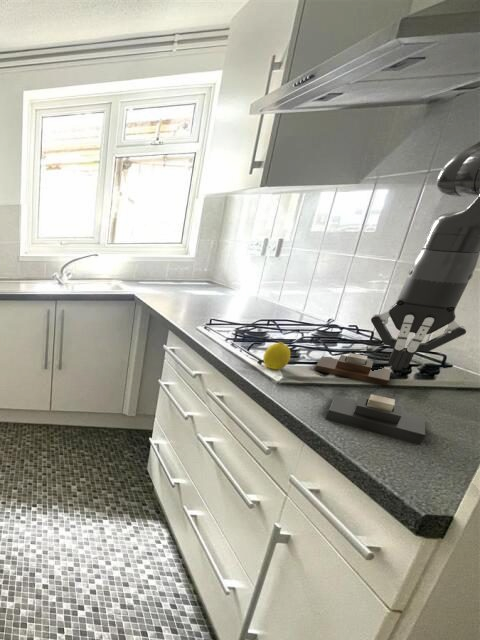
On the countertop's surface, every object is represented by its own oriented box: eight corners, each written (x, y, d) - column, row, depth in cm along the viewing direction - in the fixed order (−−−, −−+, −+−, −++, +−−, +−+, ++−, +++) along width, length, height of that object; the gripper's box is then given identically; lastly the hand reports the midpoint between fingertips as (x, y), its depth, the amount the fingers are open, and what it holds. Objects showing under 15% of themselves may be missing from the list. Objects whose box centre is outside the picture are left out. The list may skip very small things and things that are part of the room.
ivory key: (391, 407, 83) (395, 399, 83) (390, 413, 81) (394, 405, 80) (367, 401, 86) (371, 394, 85) (366, 407, 83) (369, 399, 83)
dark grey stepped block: (420, 426, 84) (429, 408, 82) (420, 445, 77) (429, 426, 75) (331, 404, 93) (338, 387, 91) (325, 419, 86) (331, 402, 84)
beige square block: (365, 362, 107) (367, 356, 106) (363, 366, 104) (366, 359, 104) (346, 359, 109) (349, 352, 108) (345, 362, 107) (347, 356, 106)
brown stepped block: (387, 377, 107) (393, 363, 105) (385, 388, 100) (392, 373, 99) (319, 363, 116) (324, 350, 114) (313, 373, 109) (318, 358, 108)
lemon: (264, 373, 109) (273, 344, 106) (256, 366, 114) (265, 338, 111) (288, 375, 108) (298, 346, 104) (279, 368, 113) (288, 339, 109)
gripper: (492, 279, 71) (444, 372, 78) (387, 270, 80) (353, 355, 87) (497, 285, 66) (446, 384, 73) (385, 274, 75) (349, 364, 82)
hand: (395, 368), depth 80 cm, fingers closed
